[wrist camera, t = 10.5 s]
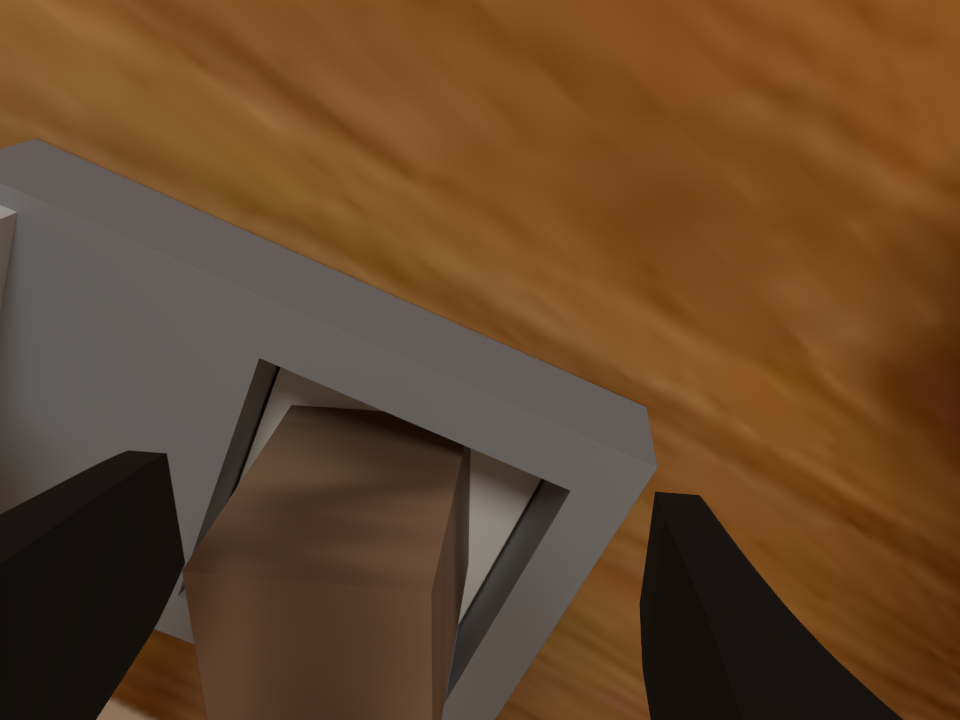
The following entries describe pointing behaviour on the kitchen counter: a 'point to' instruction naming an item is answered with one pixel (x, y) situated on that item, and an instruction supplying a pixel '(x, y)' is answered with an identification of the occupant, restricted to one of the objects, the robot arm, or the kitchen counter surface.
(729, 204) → the kitchen counter surface
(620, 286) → the kitchen counter surface
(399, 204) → the kitchen counter surface
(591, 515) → the socket block
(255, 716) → the walnut peg
